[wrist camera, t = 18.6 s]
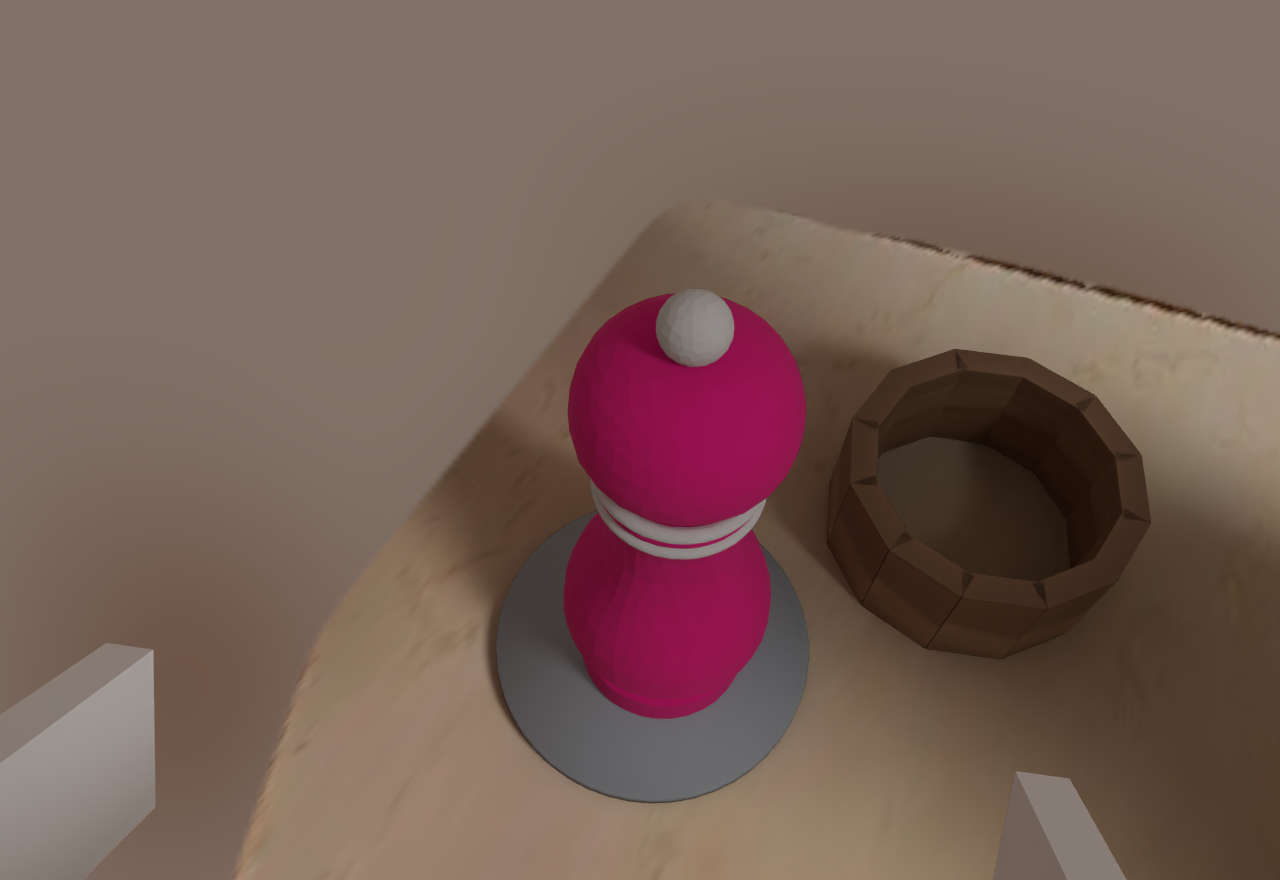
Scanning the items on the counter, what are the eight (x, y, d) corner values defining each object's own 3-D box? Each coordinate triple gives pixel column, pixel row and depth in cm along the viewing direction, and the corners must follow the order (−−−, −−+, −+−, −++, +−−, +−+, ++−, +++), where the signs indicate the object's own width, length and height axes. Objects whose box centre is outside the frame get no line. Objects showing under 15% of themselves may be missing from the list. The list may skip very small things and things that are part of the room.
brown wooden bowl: (1136, 511, 43) (1193, 449, 39) (1018, 711, 39) (1067, 666, 34) (911, 379, 47) (940, 309, 43) (777, 547, 42) (795, 488, 38)
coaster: (864, 621, 40) (867, 614, 40) (683, 875, 35) (684, 872, 35) (627, 458, 44) (627, 451, 44) (432, 667, 39) (430, 662, 39)
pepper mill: (563, 561, 41) (527, 192, 24) (742, 549, 41) (830, 178, 24) (572, 741, 37) (537, 453, 20) (769, 725, 37) (896, 430, 21)
